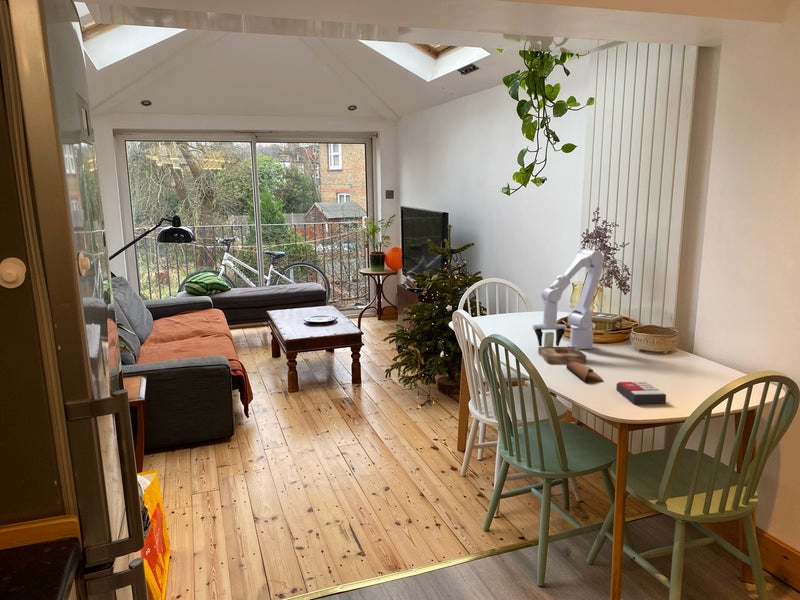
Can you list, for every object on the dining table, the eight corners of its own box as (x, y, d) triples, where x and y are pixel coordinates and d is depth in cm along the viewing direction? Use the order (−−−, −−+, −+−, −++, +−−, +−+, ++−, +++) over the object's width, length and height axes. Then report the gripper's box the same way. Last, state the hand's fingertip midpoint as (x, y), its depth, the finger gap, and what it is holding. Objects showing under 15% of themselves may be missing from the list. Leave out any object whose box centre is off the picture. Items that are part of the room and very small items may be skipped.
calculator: (646, 380, 217) (666, 392, 202) (645, 392, 218) (666, 405, 203) (616, 380, 216) (634, 393, 202) (615, 392, 217) (634, 405, 202)
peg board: (574, 353, 263) (574, 346, 262) (585, 362, 249) (586, 355, 249) (538, 353, 262) (538, 347, 262) (547, 363, 248) (547, 356, 248)
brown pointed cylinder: (606, 382, 225) (598, 367, 223) (590, 392, 225) (582, 377, 223) (586, 367, 242) (578, 354, 241) (571, 377, 242) (563, 363, 241)
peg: (551, 349, 269) (552, 331, 268) (554, 351, 265) (555, 334, 264) (542, 349, 269) (543, 331, 268) (545, 351, 265) (546, 334, 264)
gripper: (563, 313, 269) (562, 343, 271) (531, 313, 268) (530, 343, 270) (568, 316, 262) (567, 347, 264) (535, 317, 261) (534, 347, 263)
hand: (548, 345), depth 267 cm, fingers open, 7 cm apart
